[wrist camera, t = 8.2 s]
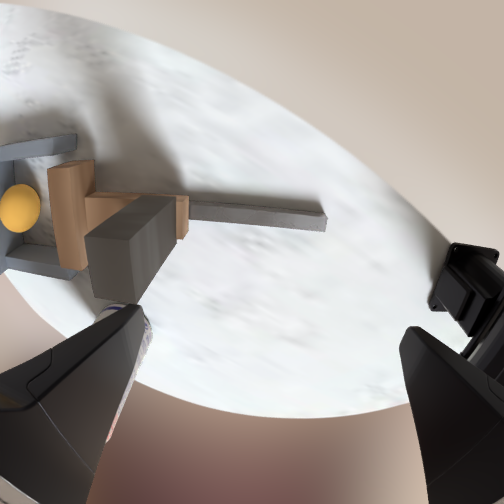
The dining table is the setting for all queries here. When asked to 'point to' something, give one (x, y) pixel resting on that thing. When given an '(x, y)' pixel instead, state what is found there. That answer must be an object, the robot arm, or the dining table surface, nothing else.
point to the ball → (19, 208)
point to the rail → (257, 215)
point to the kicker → (113, 231)
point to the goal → (11, 243)
